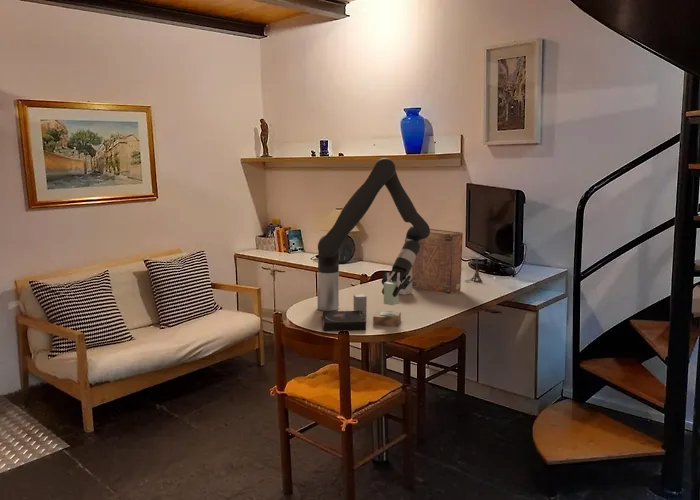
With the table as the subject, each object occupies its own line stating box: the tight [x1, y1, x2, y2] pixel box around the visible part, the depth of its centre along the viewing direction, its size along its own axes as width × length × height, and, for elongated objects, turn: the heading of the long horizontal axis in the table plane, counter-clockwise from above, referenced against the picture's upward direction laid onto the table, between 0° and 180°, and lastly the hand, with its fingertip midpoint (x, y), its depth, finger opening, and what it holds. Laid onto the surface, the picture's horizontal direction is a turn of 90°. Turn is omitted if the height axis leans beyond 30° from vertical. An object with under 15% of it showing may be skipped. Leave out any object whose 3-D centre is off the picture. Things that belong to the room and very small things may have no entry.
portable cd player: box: [321, 310, 367, 332], centre depth 247 cm, size 16×17×4 cm
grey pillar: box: [353, 293, 368, 318], centre depth 260 cm, size 4×4×9 cm
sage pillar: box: [383, 280, 400, 306], centre depth 251 cm, size 4×4×9 cm
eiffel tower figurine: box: [464, 258, 483, 283], centre depth 328 cm, size 15×10×13 cm
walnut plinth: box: [372, 309, 402, 328], centre depth 251 cm, size 10×10×4 cm
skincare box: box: [391, 262, 413, 296], centre depth 300 cm, size 8×7×16 cm
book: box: [412, 228, 464, 294], centre depth 309 cm, size 25×9×30 cm, turn 47°
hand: (388, 294), depth 250 cm, fingers closed on sage pillar, 4 cm apart
